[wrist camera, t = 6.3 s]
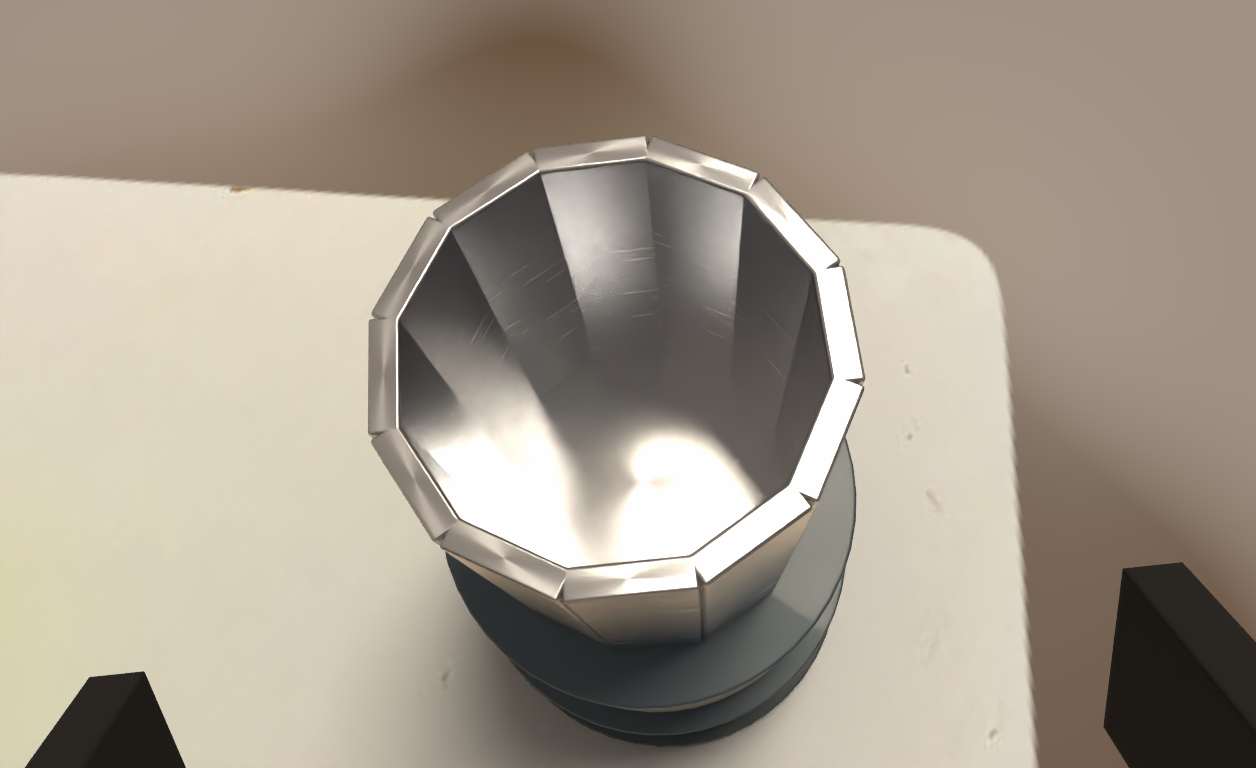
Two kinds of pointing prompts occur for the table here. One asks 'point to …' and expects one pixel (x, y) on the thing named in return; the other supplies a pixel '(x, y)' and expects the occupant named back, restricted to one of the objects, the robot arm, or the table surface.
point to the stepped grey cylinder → (688, 674)
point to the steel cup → (617, 385)
